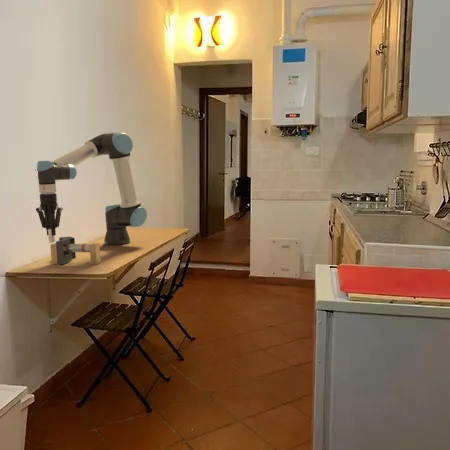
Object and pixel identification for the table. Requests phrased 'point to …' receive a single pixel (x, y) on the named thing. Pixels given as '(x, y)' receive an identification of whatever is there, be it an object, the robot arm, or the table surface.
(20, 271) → the table surface
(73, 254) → the box
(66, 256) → the collar
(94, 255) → the pipe
